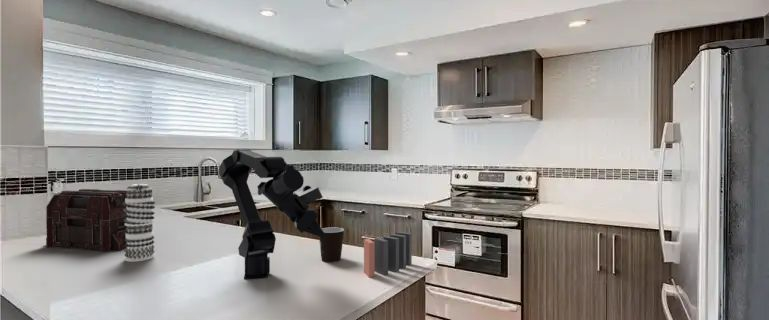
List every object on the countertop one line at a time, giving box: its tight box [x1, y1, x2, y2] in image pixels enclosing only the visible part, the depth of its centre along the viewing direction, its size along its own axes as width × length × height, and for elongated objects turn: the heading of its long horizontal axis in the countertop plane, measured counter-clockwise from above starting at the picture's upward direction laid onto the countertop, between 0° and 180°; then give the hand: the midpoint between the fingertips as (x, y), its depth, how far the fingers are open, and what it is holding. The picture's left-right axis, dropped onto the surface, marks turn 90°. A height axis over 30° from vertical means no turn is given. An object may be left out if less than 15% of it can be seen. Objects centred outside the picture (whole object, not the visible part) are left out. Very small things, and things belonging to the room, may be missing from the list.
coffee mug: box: [318, 226, 345, 263], centre depth 130 cm, size 12×9×10 cm
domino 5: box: [395, 231, 413, 266], centre depth 125 cm, size 2×5×10 cm, turn 61°
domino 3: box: [382, 235, 400, 273], centre depth 118 cm, size 2×5×10 cm, turn 51°
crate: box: [45, 188, 127, 253], centre depth 150 cm, size 35×19×21 cm, turn 76°
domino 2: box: [373, 237, 389, 276], centre depth 115 cm, size 2×5×10 cm, turn 34°
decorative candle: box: [123, 183, 156, 263], centre depth 130 cm, size 9×9×25 cm
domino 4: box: [389, 233, 407, 270], centre depth 121 cm, size 2×5×10 cm, turn 60°
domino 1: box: [363, 238, 375, 278], centre depth 113 cm, size 2×5×10 cm, turn 20°
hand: (323, 235), depth 108 cm, fingers closed
